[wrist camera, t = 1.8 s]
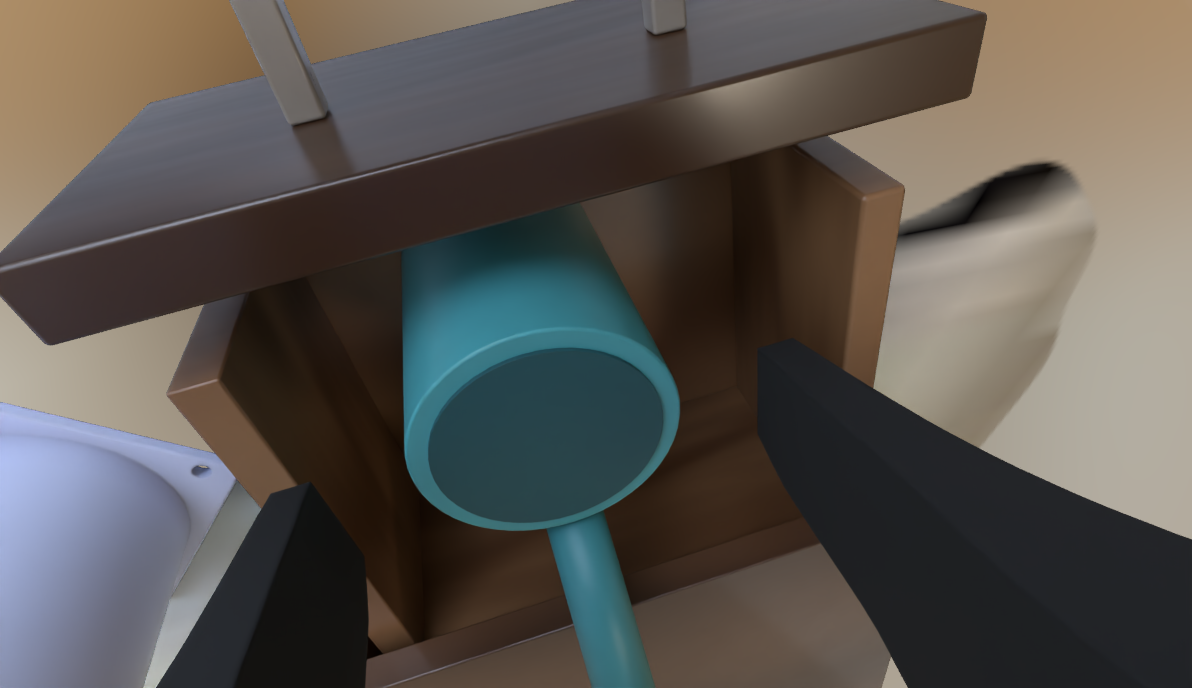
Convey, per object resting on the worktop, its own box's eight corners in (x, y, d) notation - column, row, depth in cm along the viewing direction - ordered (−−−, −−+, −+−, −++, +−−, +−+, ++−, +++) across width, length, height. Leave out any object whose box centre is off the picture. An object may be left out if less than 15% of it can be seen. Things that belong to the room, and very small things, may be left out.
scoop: (370, 191, 14) (342, 566, 7) (572, 138, 14) (760, 436, 7) (481, 453, 19) (533, 813, 12) (624, 409, 20) (759, 732, 12)
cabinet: (338, 430, 20) (311, 712, 13) (769, 304, 21) (937, 505, 15) (464, 632, 29) (485, 864, 22) (765, 533, 30) (871, 725, 23)
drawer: (-10, -153, 10) (-438, -162, 5) (769, -310, 11) (1091, -452, 6) (380, 485, 21) (376, 698, 15) (764, 369, 22) (879, 530, 17)
